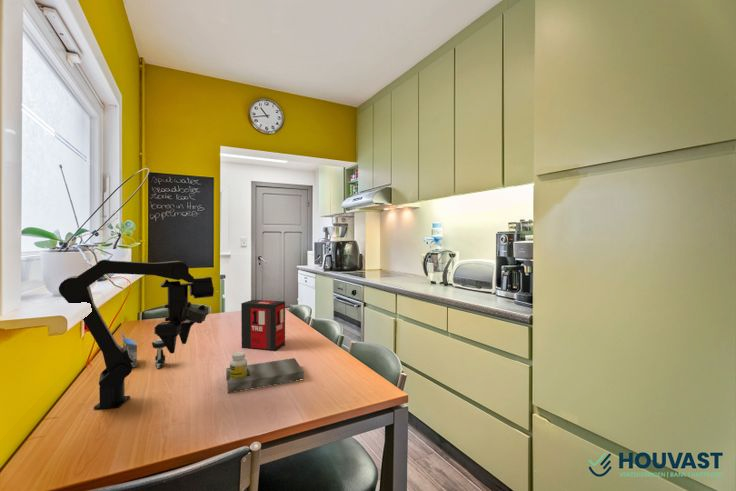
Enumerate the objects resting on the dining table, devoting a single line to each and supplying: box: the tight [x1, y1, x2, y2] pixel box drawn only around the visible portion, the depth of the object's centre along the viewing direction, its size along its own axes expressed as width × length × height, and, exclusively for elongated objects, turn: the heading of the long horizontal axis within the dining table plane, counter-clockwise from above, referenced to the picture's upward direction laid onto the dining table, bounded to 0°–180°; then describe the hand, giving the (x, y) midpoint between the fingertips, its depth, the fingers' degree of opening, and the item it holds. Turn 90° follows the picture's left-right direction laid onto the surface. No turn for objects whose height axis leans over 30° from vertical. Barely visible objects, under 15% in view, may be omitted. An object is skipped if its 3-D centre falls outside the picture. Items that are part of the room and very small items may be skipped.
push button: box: [151, 337, 166, 369], centre depth 127 cm, size 7×5×10 cm
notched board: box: [225, 357, 305, 394], centre depth 116 cm, size 24×14×3 cm, turn 115°
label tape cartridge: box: [122, 331, 138, 369], centre depth 128 cm, size 9×4×12 cm, turn 41°
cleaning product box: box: [240, 299, 286, 352], centre depth 150 cm, size 16×9×20 cm, turn 76°
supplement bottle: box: [229, 351, 248, 379], centre depth 112 cm, size 5×5×10 cm
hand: (178, 348), depth 108 cm, fingers open, 9 cm apart
